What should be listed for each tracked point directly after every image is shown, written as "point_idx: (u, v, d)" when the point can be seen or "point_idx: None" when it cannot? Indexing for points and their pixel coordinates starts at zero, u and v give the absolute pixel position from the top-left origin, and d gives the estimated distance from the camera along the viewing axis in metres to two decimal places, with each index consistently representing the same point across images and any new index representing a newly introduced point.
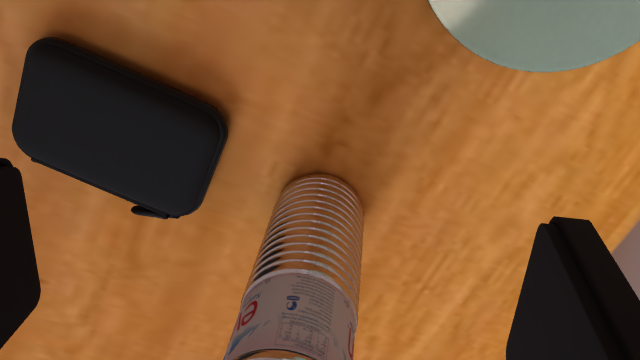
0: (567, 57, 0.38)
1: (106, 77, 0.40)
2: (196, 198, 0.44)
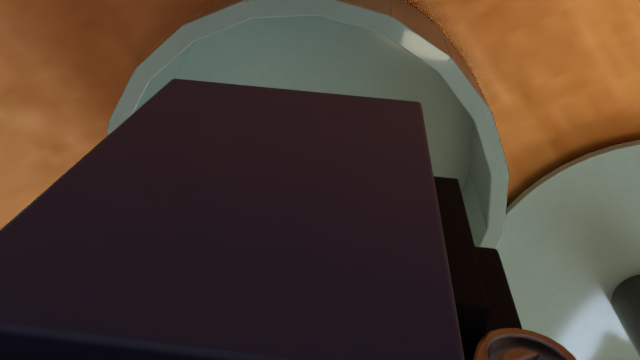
0: None
1: None
2: None
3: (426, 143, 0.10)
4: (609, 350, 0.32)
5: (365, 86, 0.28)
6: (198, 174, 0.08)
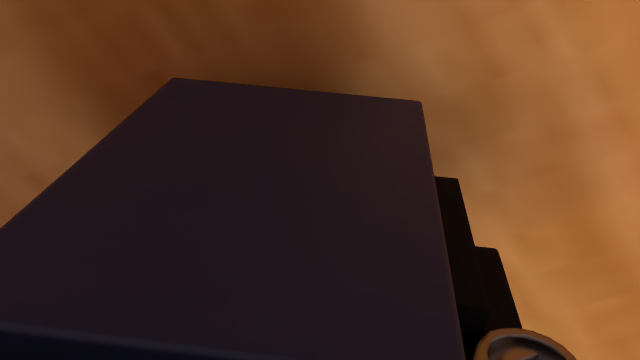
0: None
1: None
2: None
3: (426, 142, 0.10)
4: None
5: None
6: (198, 172, 0.08)
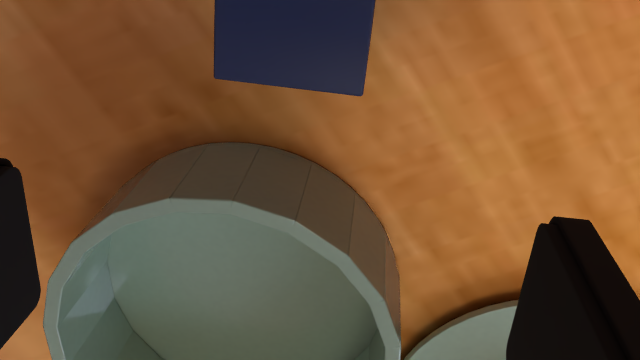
0: None
1: None
2: None
3: None
4: None
5: (290, 237, 0.30)
6: None
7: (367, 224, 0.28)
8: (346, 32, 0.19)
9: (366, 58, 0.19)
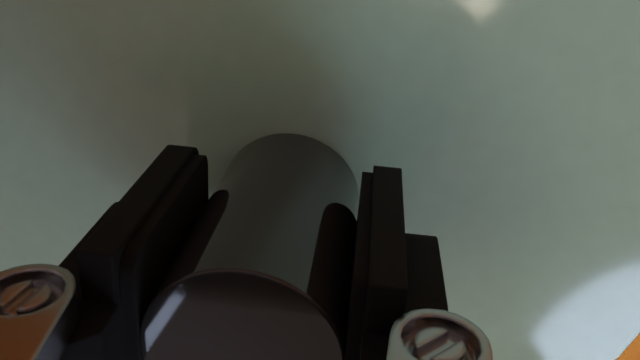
0: (615, 309, 0.13)
1: None
2: None
3: None
4: None
5: None
6: None
7: None
8: None
9: None
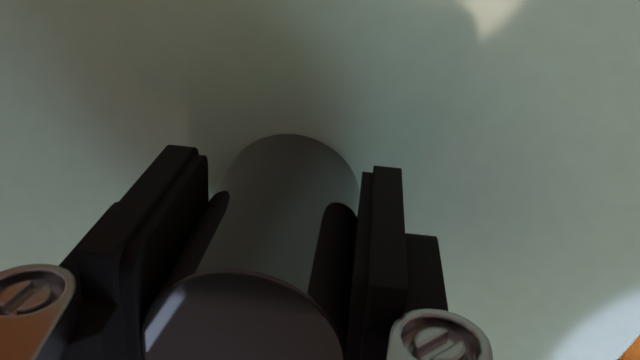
0: (616, 310, 0.13)
1: None
2: None
3: None
4: None
5: None
6: None
7: None
8: None
9: None
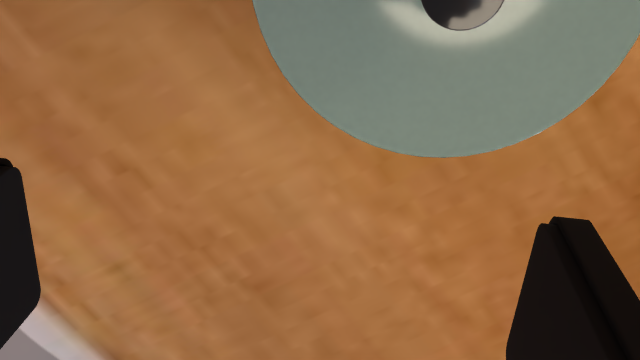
0: (617, 33, 0.25)
1: None
2: None
3: None
4: (420, 52, 0.27)
5: None
6: None
7: None
8: None
9: None
